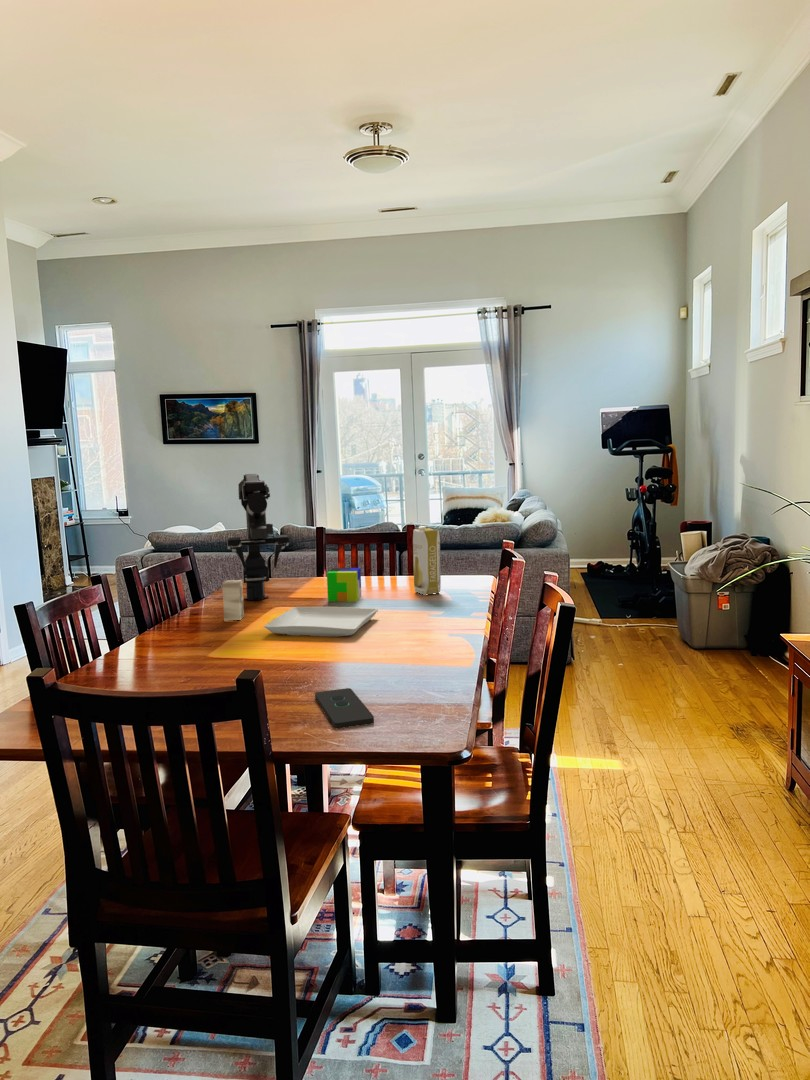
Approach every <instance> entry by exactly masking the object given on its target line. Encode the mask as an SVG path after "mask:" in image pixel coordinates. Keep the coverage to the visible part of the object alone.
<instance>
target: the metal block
mask: <svg viewBox="0 0 810 1080" xmlns="http://www.w3.org/2000/svg"><path fill="white" fill-rule="evenodd" d="M221 583H222V584H221V585H222V586H221V587H222V601H223V602H222V603H223V604H222V605H223V620H224V622H228V621H227V620H241V619H242V618H243V617H244V618H245V611H244V610H245V609H244V608H245V607H244V594H243V593H244V589H243V587H244V586H243V579H227V580H224V581H223V582H221ZM244 618H243V619H244ZM243 619H242V620H243ZM242 620H241V621H242Z"/></svg>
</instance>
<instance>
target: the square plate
mask: <svg viewBox="0 0 810 1080" xmlns="http://www.w3.org/2000/svg"><path fill="white" fill-rule="evenodd" d="M378 611H379V610H378V609H377V608H366V607H365V608H361V607H350V606H349V607H347V606H343V607H342V606H294V607H291V608H290V609H289V610H286V611H285V612H284V613H282V614H280V615H278V616H277V617H276V618H274V619H272V620H271V621H269V622H267V624H264V625H263V628H265V629H266V630H268V631H269V632H270V633H273V634H278V635H279V634H281V635H285V634H287V635H286V636H299V635H310V637H347V636H352V635H354V634H355V633H356V632H357V631H358V630H359V629H360V628H361V627H362V626H365V624H366V623H368V622H369V621H370V620H371V619H372V618H373V617H375V615H376V614H377V612H378Z"/></svg>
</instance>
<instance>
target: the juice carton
mask: <svg viewBox="0 0 810 1080" xmlns="http://www.w3.org/2000/svg"><path fill="white" fill-rule="evenodd" d="M412 532H413V533H412V556H413V559H412V560H413V561H412V562H413V585H414V586H413V587H414V592H415V593H416V592H418V593H417V594H419V593H420V595H422V594H423V595H422V596H427V595H426V594H433V593H439V592H440V593H441V587H442V584H441V583H442V582H441V537H440V531H439V529H433V528H429V527H427V526H426V525H420V526H418V528H415V529H413V531H412Z"/></svg>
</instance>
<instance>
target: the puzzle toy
mask: <svg viewBox="0 0 810 1080" xmlns="http://www.w3.org/2000/svg"><path fill="white" fill-rule="evenodd" d="M361 574H362V573H361V567H333V568H331V569H330V570H328V572H326V582H327V583H326V584H327V585H326V586H327V602H328V601H357V602H358V601H359V600H360V598H361V597H362V575H361Z"/></svg>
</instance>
